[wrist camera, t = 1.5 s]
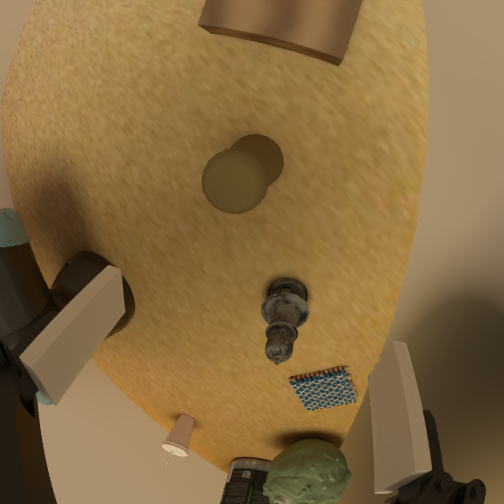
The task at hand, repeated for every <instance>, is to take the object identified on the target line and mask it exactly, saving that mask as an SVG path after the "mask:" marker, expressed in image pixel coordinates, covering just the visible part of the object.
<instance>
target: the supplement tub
mask: <svg viewBox="0 0 504 504" xmlns="http://www.w3.org/2000/svg"><path fill="white" fill-rule="evenodd" d="M270 464H271V462H269V461H264V460H258V459H250V458H242V459H237V460H235V461H233V462H232V463H231V466H230V469H229V473H228V477H227V481H226V484H225V488H224V492H223V495H222V499H221V502H220V504H271V503H270V502H269V501H270V499H269V497H268V496H267V495H263V491H264V490H263V485H264V484H265V483H266V478H267V475H268V473H269V467H270Z"/></svg>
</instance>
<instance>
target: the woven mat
mask: <svg viewBox="0 0 504 504" xmlns="http://www.w3.org/2000/svg"><path fill="white" fill-rule="evenodd" d="M340 370H342V372H340ZM345 370H348V367H346V366H343V367H336V368H335V369H330V370H326V371H322V372H320V371H319V372H318V373H312V374H307V375H302V376H297V377H294V378H293V377H290V378H289V379H288V381H290V384H291V385H290V386H292V387H291V389H293V390H295V391H296V392H294V393H296V394H297V395H298V396H297V397H299V399H300V402H301V403H303V404H304V407H305V409H306V408H307V410H310V409H312V411H314V408H316V409H319V408H320V409H322V407H324V408H326V407H327V406H329V408H330V407H331V405H332V406H335V404H336V405H337V406H339V404H340V403H341V405H342V404H343V402H345V404H346V405H347V404H348V403H347V402H348V401H349V403H351V402H352V400H354V403H356V399H357V398H358V397H357V396H359V395H357V394H358V393H357V392H355V391H354V390H356V388H355V386H354V385H353V384H352V381H351V382H350V380H351V379H350V378H351V375H350V374H349V375H347V374H346V373H348V372H350V371H345ZM335 371H338V372H337V373H336V372H335ZM331 372H332V374H333V375H332V374H331ZM326 373H328V374H327V375H326ZM341 374H342V375H341ZM312 376H313V378H312ZM307 377H309V378H307ZM303 378H304V379H303ZM298 379H299V380H298ZM325 382H326V383H325ZM337 387H338V388H337ZM343 389H344V390H343ZM334 391H335V392H334ZM302 406H303V405H302ZM318 407H319V408H318Z"/></svg>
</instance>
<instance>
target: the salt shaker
mask: <svg viewBox="0 0 504 504" xmlns="http://www.w3.org/2000/svg"><path fill="white" fill-rule="evenodd" d="M307 299H308V292H307V289H306V287H305V286H304V285H303V284H302V283H301V282H299V281H297V280H295V279H291V278H283V279H279V280H277V281H275V282H274V283H272V284H271V286H270V287H269V290H268V297H267V298H266V299H265V300H264V302H263V304H262V307H261V313H262V316H263V318H264V320H265V321H266V322H267V323H268V324H269V326H268V327H267V328H266V337H267V343H266V348H265V354H266V356H267V357H268V359H270V360H271V361H273V362H274V363H275V364H276V365H278V364H279V363H280V362H285V361H287V360H288V359H290V357H291V356H292V352H293V344H294V341H295V340H296V339H297V337H298V330H297V329H296V328H299V327H300V326H302V325H303V324H304V323H305V322H306V321H307V319H308V318H309V313H310V312H309V306H308V305H307V303H306V302H307Z"/></svg>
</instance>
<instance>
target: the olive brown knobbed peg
mask: <svg viewBox="0 0 504 504" xmlns="http://www.w3.org/2000/svg"><path fill="white" fill-rule="evenodd" d="M283 165H284V164H283V155H282V152H281V150H280V148H279V146H278V145H277V144H276V143H275V142H274V141H273V140H271V139H270V138H268V137H267V136H263V135H259V134H253V135H247V136H245V137H242V138H240V139H239V140H238V141H237V142H236V143H235V144H234V145H233V146H232V148H231V149H227V150H224V151H222V152H220V153H218V154H216V155H215V156H214V157H212V158H211V159H210V160H209V161H208V163H207V165H206V167H205V169H204V171H203V176H202V187H203V191H204V194H205V196H206V198H207V199H208V201H209V202H210V203H211V204H212V205H213V206H214V207H216V208H217V209H219V210H220V211H222V212H226V213H230V214H241V213H244V212H247V211H250V210H252V209H253V208H255V207H256V206H257V205H258V204H260V202H261V201H262V199H263V198H264V196H265V194H266V191H267V187H268V186H269V185H270V184H272V183H273V182H274V181H275V180H277V178H278V177H279V175H280V174H281V172H282V168H283Z"/></svg>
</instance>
